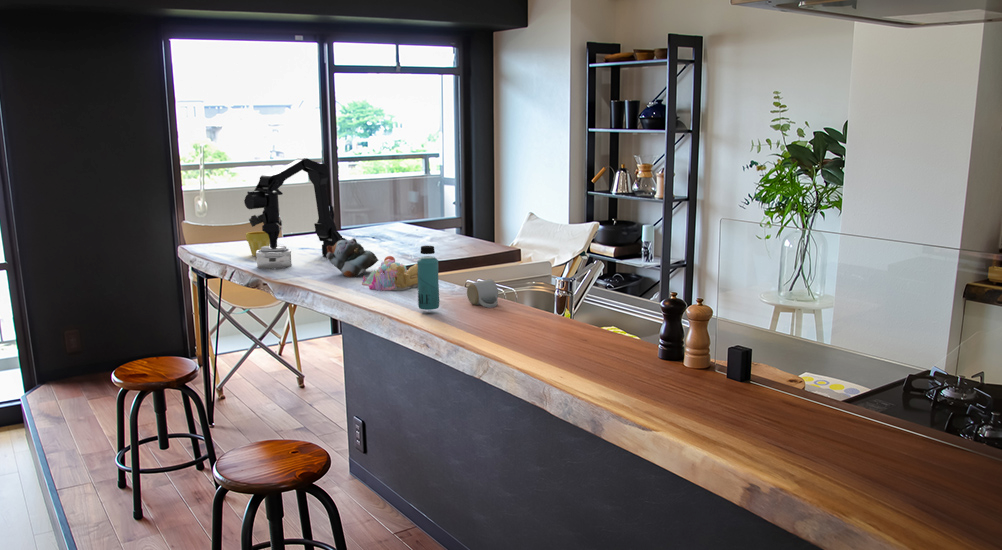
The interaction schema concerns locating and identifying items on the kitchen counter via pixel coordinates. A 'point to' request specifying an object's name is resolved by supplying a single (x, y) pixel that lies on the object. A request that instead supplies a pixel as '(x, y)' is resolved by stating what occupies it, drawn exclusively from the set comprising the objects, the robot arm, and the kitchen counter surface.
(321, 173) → the robot arm
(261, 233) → the plant pot
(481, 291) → the ceramic mug
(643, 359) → the kitchen counter surface
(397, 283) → the pastel plush toy
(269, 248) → the lid
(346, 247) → the grey teddy bear
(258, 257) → the pot
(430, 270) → the beverage bottle
